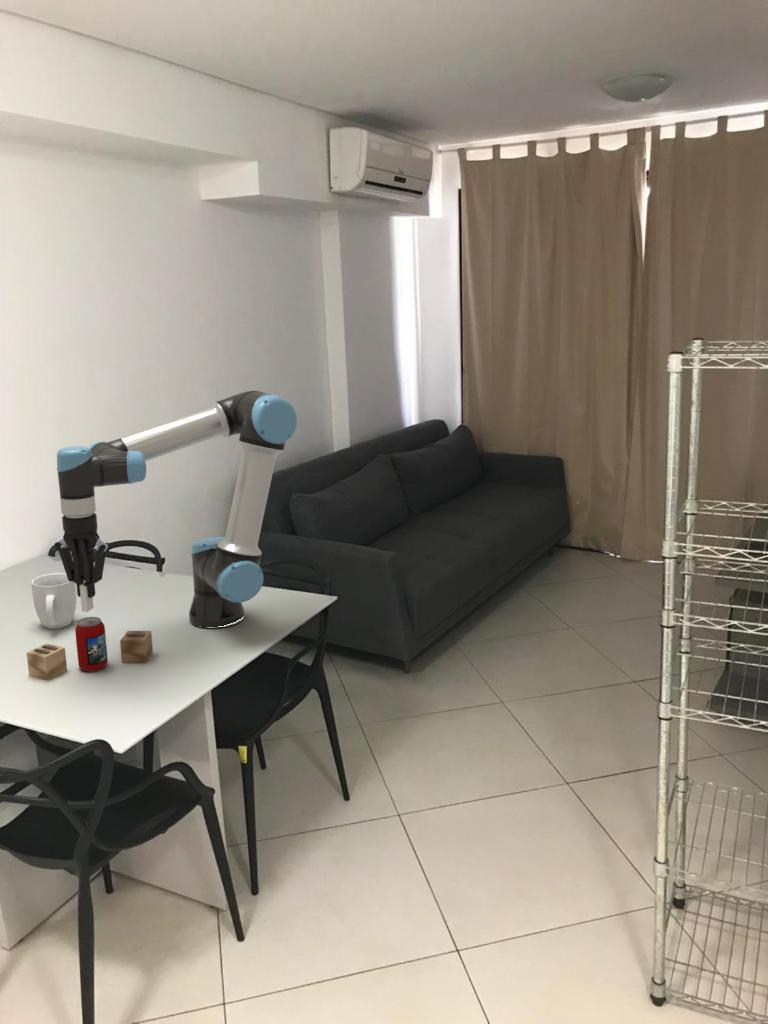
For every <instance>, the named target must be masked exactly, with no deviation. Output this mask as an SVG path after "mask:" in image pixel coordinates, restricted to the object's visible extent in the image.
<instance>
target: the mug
mask: <svg viewBox="0 0 768 1024" xmlns="http://www.w3.org/2000/svg"><path fill="white" fill-rule="evenodd" d="M31 593H32V594H31V595H32V598H33V599H32V600H33V605H34V610H35V613H36V615H37V617H38V619H39V621H40V622H41V624H42V625H43V626H44V627H45V628H47V629H51V630H54V629H62V628H65V627H68V626H69V625H70V624H71V623H72V622H73V620H74V617H75V614H76V613H75V612H76V611H77V610H76V609H77V586H76V583H75V582H72V581H71V582H70V581H68V578H67V575H66V572H56V573H53V572H52V573H47V574H43V575H39V576H37V577H34V578H33V579H32V580H31Z"/></svg>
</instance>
